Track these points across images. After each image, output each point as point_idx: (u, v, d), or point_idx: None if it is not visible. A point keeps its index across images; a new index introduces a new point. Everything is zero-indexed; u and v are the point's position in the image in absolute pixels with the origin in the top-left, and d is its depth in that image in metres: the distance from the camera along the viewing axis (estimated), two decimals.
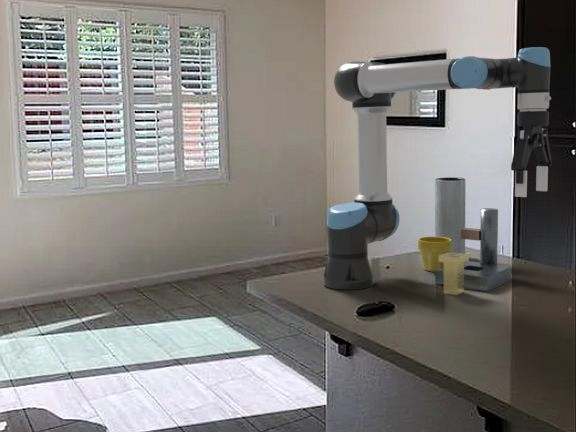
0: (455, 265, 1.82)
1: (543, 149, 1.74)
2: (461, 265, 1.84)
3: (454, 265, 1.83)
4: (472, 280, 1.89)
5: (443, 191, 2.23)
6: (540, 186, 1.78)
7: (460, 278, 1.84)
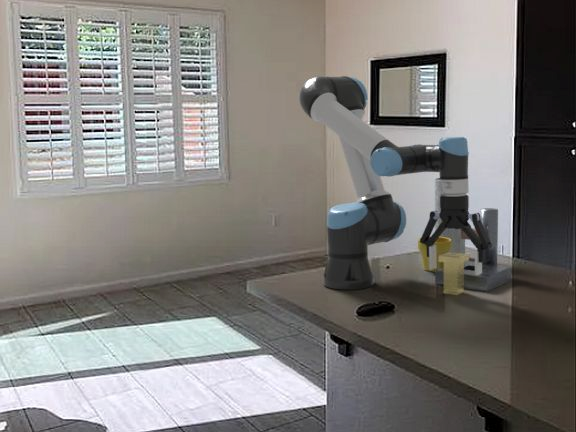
0: (455, 265, 1.82)
1: (467, 233, 1.80)
2: (461, 265, 1.84)
3: (454, 265, 1.83)
4: (472, 280, 1.89)
5: None
6: None
7: (460, 278, 1.84)
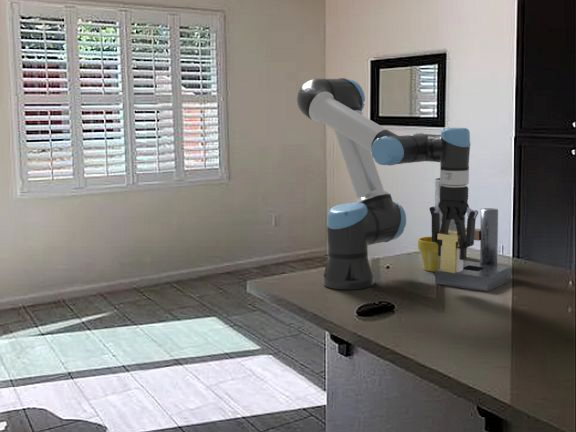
0: (454, 243, 1.82)
1: (458, 227, 1.81)
2: None
3: (452, 243, 1.82)
4: (472, 280, 1.89)
5: None
6: None
7: None
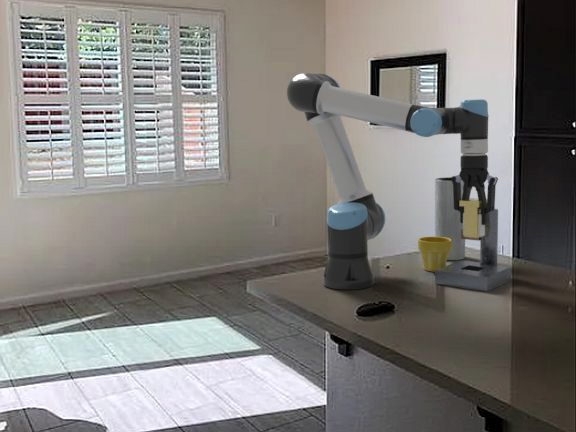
0: (475, 209, 1.92)
1: (479, 194, 1.91)
2: None
3: (474, 209, 1.92)
4: (472, 280, 1.89)
5: (443, 191, 2.23)
6: None
7: None
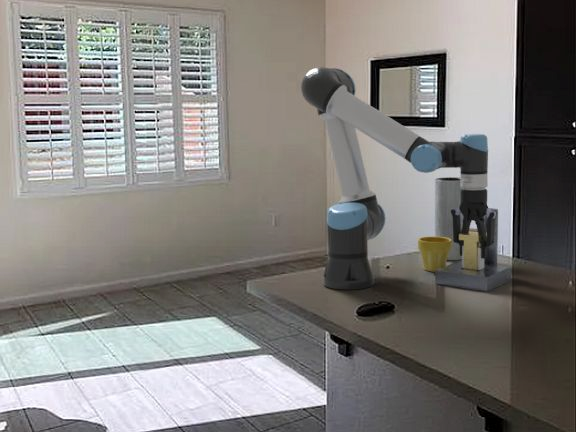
0: (475, 243, 1.93)
1: (478, 227, 1.93)
2: None
3: (473, 243, 1.93)
4: (472, 280, 1.89)
5: (443, 191, 2.23)
6: None
7: None
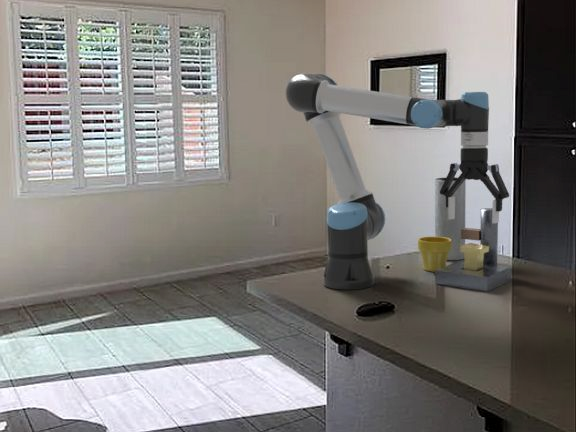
0: (475, 256, 1.93)
1: (486, 183, 1.89)
2: (481, 256, 1.95)
3: (474, 255, 1.93)
4: (472, 280, 1.89)
5: None
6: None
7: (479, 268, 1.95)
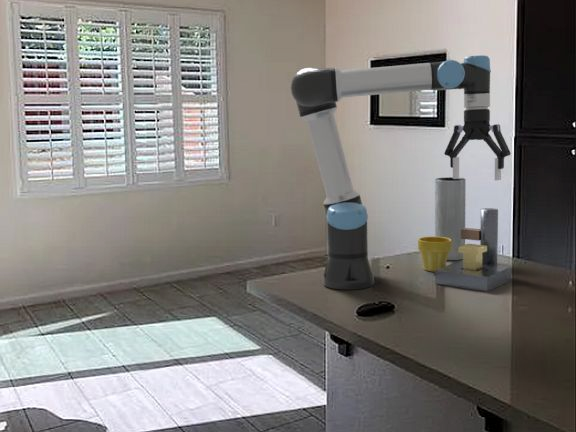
0: (474, 255, 1.93)
1: (488, 142, 2.00)
2: (480, 256, 1.95)
3: (473, 255, 1.94)
4: (472, 280, 1.89)
5: (443, 191, 2.23)
6: None
7: (479, 268, 1.95)
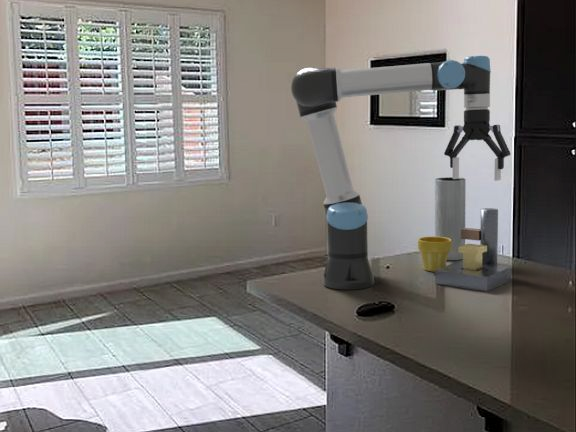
0: (474, 255, 1.93)
1: (488, 142, 2.00)
2: (480, 256, 1.95)
3: (473, 255, 1.94)
4: (472, 280, 1.89)
5: (443, 191, 2.23)
6: None
7: (479, 268, 1.95)
